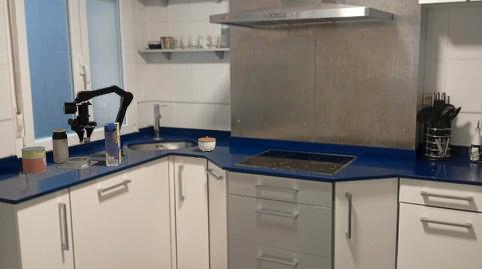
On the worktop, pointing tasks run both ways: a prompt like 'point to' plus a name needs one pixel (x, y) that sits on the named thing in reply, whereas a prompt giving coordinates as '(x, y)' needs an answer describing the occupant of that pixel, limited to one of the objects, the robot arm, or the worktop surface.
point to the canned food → (34, 160)
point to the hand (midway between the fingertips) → (84, 140)
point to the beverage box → (112, 144)
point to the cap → (85, 140)
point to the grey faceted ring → (77, 163)
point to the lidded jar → (206, 143)
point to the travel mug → (60, 145)
